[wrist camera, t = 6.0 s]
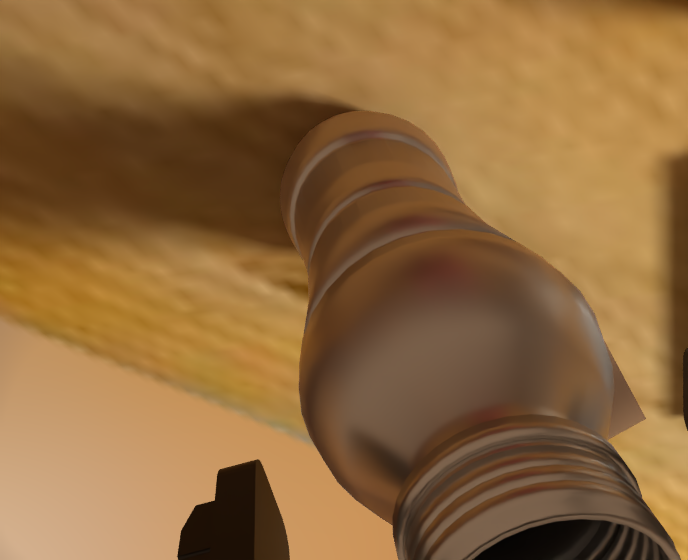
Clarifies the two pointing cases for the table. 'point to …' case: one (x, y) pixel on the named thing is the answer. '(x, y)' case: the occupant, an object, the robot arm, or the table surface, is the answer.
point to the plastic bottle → (451, 363)
